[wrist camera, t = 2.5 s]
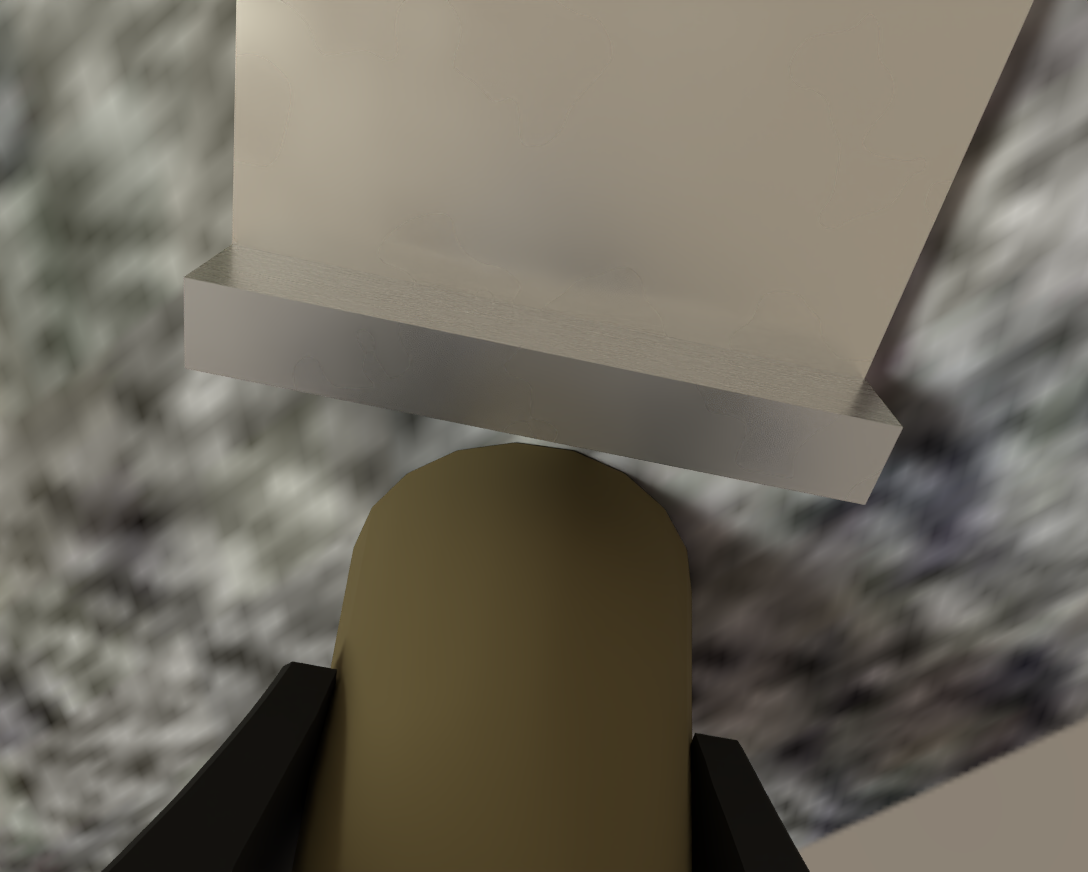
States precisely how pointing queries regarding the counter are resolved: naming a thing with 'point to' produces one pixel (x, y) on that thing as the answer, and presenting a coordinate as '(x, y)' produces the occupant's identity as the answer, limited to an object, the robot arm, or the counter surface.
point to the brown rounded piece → (509, 677)
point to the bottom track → (596, 215)
